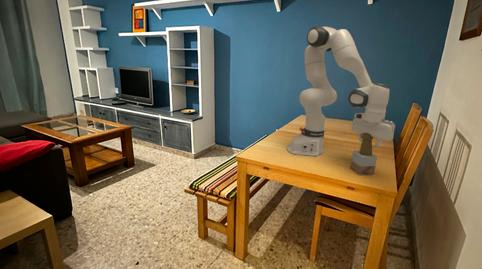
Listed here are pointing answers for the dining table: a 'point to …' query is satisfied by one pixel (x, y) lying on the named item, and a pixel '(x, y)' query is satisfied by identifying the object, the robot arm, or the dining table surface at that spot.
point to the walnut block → (362, 169)
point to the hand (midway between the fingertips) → (368, 144)
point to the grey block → (364, 159)
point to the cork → (366, 145)
